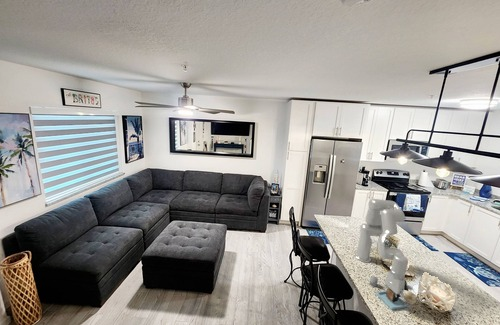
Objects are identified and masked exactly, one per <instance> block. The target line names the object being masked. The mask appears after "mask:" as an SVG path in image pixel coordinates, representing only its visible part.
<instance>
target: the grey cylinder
mask: <svg viewBox="0 0 500 325" xmlns="http://www.w3.org/2000/svg"><path fill="white" fill-rule="evenodd" d="M378 281H379V279H378V278H377V277H376V276H374V275H372V276H370V279H369V285H370V286H372V288H376V287H377V286H378V283H379V282H378Z"/></svg>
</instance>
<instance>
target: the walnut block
mask: <svg viewBox="0 0 500 325" xmlns="http://www.w3.org/2000/svg"><path fill="white" fill-rule="evenodd" d="M386 291H387V293H386V297H388V298H389V299H390V300H391V301H393V298H394V296H395V293H394V292H393V291H392V290H391V289H390V288H386ZM397 295H398V294H397Z"/></svg>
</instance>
